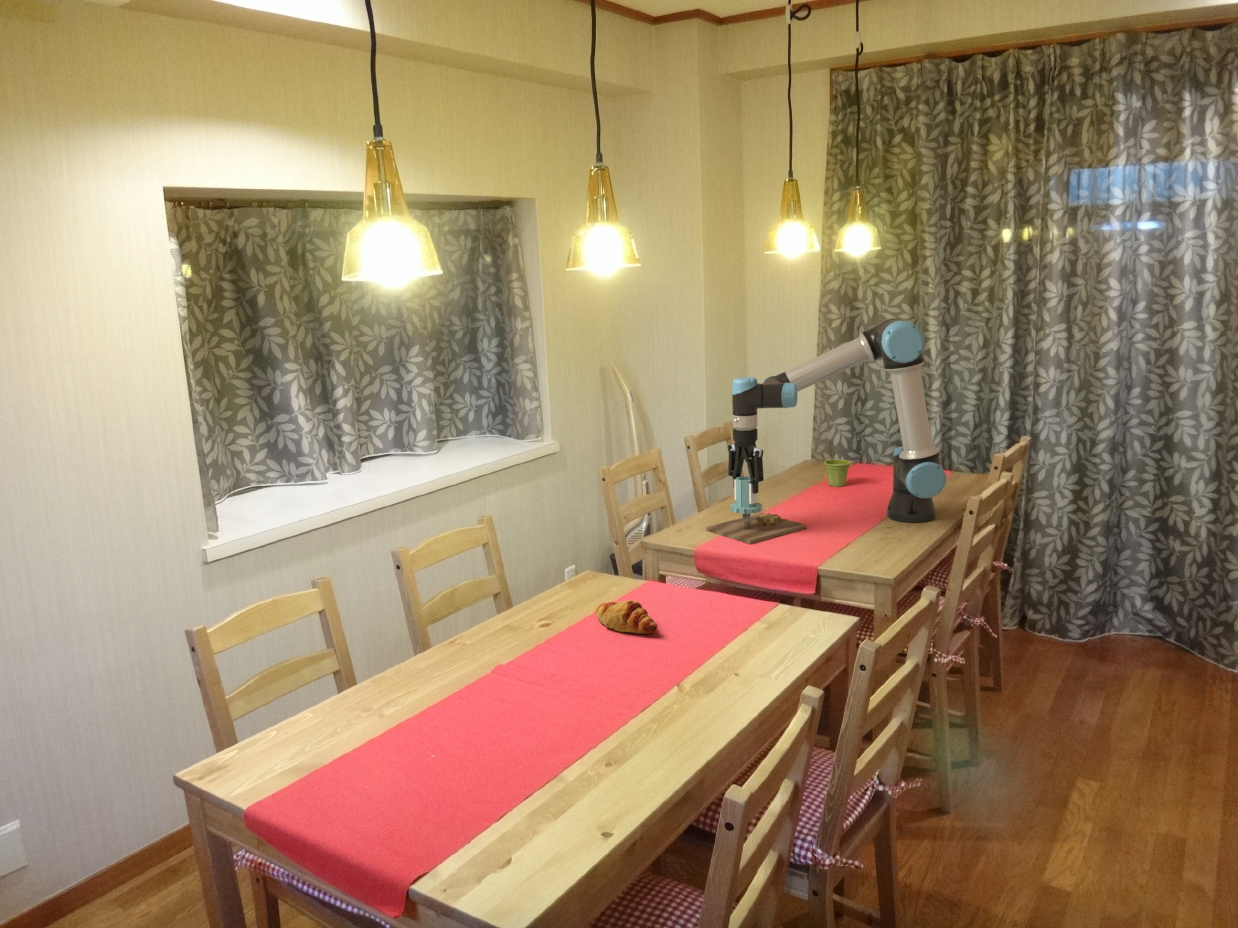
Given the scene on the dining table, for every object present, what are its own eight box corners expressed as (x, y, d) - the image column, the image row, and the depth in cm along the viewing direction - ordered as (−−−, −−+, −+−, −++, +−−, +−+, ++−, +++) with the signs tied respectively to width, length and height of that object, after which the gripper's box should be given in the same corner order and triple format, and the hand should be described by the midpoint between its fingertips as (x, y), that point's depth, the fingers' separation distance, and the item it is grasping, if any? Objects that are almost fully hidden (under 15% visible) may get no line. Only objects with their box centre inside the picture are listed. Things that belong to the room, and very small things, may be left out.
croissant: (589, 631, 243) (575, 608, 239) (614, 603, 248) (601, 580, 244) (649, 652, 228) (636, 628, 224) (675, 622, 233) (662, 598, 229)
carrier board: (806, 528, 309) (806, 509, 308) (749, 544, 296) (749, 524, 294) (761, 516, 325) (761, 498, 324) (706, 530, 311) (705, 511, 310)
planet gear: (768, 509, 305) (767, 478, 303) (745, 515, 300) (744, 483, 298) (746, 504, 313) (746, 473, 311) (724, 509, 308) (723, 478, 305)
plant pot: (848, 481, 366) (848, 459, 364) (851, 487, 357) (852, 464, 355) (823, 482, 367) (823, 459, 365) (825, 488, 358) (825, 465, 356)
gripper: (715, 425, 306) (716, 497, 311) (757, 433, 291) (758, 509, 296) (733, 422, 311) (734, 493, 316) (775, 430, 295) (776, 504, 300)
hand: (745, 500), depth 306 cm, fingers closed on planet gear, 6 cm apart
